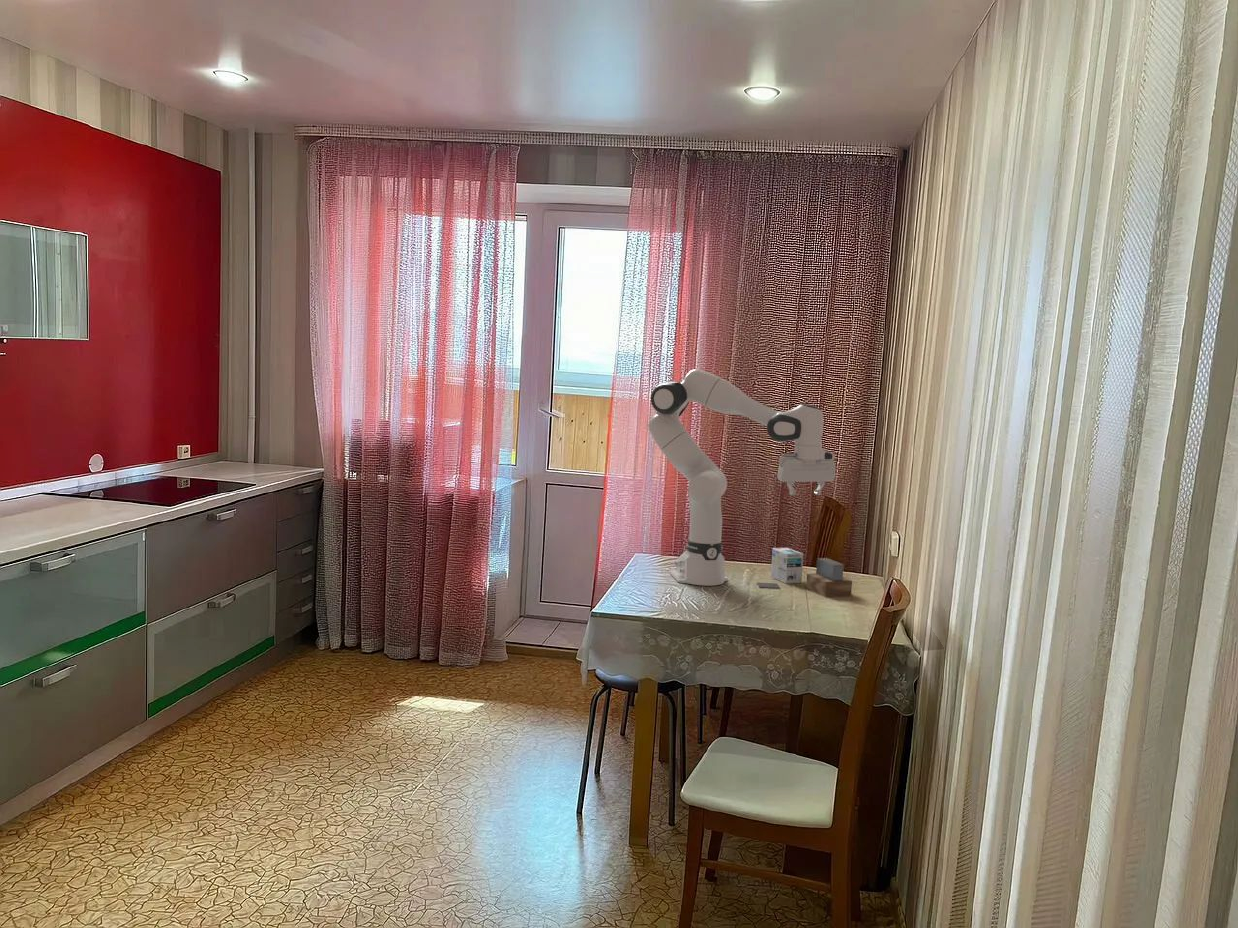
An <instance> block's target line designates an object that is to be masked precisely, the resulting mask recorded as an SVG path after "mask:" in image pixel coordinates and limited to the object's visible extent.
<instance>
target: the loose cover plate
mask: <svg viewBox="0 0 1238 928" xmlns="http://www.w3.org/2000/svg"><path fill="white" fill-rule="evenodd" d="M756 583H757V584H756V585H757V587H758V586H759V587H758V589H777V590H778V589H779V590H780V589H781V586H779V585H778V583H775V582H773V583H772V582H756Z"/></svg>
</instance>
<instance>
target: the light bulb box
mask: <svg viewBox="0 0 1238 928" xmlns="http://www.w3.org/2000/svg"><path fill="white" fill-rule="evenodd" d="M771 551H772V553H771V567H770V578H772V579H774V580H777V581H779V582H781V583H784V584H801V583H802V582H803V581H802V579H803V563H804V553H803V552H800V551H797V550H794V549H792V548H790V547H772V550H771Z"/></svg>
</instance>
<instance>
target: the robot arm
mask: <svg viewBox="0 0 1238 928" xmlns="http://www.w3.org/2000/svg"><path fill="white" fill-rule="evenodd" d="M650 402H651V406H652V407H653V409H654V410H655V411H656V413H655V414H654V415H652V417H651V418H650V419H649V421H648V426H647V427H648V430H649V432H650V434H651V436H652V438H653V440H654V442H655V443H656V445H657V446H658V447H659V450H661V452H662V453H663V454H664V456H665V458H667V460H668V462H670V464H671V465H672V466H673V468H674V469H676V471H678V472H679V473H680V474H681V475H682V476H683V477H684V478H685V479H686V480H687V481H688V485H687V486H688V488H687V489H688V504H689V508H688V509H689V534H688V535H689V536H688V539H687V542H686V547H685V551H684V552H683V553H682V554H681V555H680V556H679V557H677V559H676V560H675V562H674V563H675V564H674V565H675V566H674V567H675V568H676V569H675V568H674V569H670V571H669V574H670V575H671V577H673V579H674V580H675V581H677V583H680V584H690V585H695V586H696V585H697V586H705V587H706V586H719V585H722V584H724V583H726V582H728V581H729V580H728V579H729V577H727V576H726V567H725V566H726V563H725V562H726V561H725V556H723V554H722V552H723V542H722V534H723V533H722V532H723V531H722V530H723V515H722V514H723V513H722V496H723V495H724V494H725V492H726V490H727V487H728V480H727V477H726V475H725V474H724V472H723V471H721V469H720V467H718V466H717V465H716V463H715V462H714V461H713V460H712V459H711V458H710V457H709V456H708V455H707V454H706V453H705V452H704V451H703V450H702V449H701V447H700V446H699V445H698V444H697V442H696V441H695V440H694V438H693V437H692V436H691V434H690V433H689V431H687V428H685V427H684V426H683V424H682V422H681V420H680V418H679V417H681V416H682V414H683V413H684V411H685V410H686V408H687V407H688V405H689V403H690V402H695V403H697V404H700V405H702V406H704V407H705V408H707V409H709V410H711V411H715V412H717V413H720V414H723V415H738V416H743V417H747V418H748V419H751V420H753V421H754V422H757V423H759V424H760V425H763V426H765V427H766V431H767V434H768V436H769V437H770V438H771V439H772V440H773V441H775V442H778V443H786V442H789V441H794V451H793V453H792V452H791V453H783V454H782V455H780V457H779V461H778V463H779V465H778V469H777V479H778V481H779V482H782V483H784V482H785V483H786V485H787V488H788V490H789V495H790V496H796V495H797V489H795V488H794V485H795V483H797V482H798V483H800V482H801V483H802V482H805V483H809V482H810V483H811V482H814V483H815V482H817V487H816V488H814V491H813V493H814V495H815V496H821V494H822V490H823V488H824V486H825V482H831V483H833V482H834V481H835V479H836V462H835V461H834V460H835V459H836V455H835V453H833V452H831V451H828V450H825V449H823V443H822V436H823V433H824V413H823V410H822V409H821V408H820V407H818V406H816V405H812V404H807V403H800V404H799V405H798V406H796V407H794V408H791V409H789V410H776V409H773V408H772V407H769V406H767V405H766V404H763V403H761V402H760V401H757V400H755V399H753V398H751V397H750V396H749V395H747V394H746V393H744V392H743V391H742V390H741V389H739V388H738V387H737V386H736V385H734V384H732V383H731V382H730V381H728V380H726V379H724V378H722V377H719V376H718V375H716V374H713V373H711V372H708V371H705V370H701V369H698V368H695V369H694V368H693V369H691V370H689V372H687V373H686V375H685V376H684V378H683V379H682V380H681V381H675V380H673V381H665V382H662V383H660V384H658V385H657V386H656V387H654V389H653V390H652V391H651V395H650Z"/></svg>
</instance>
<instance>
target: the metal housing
mask: <svg viewBox="0 0 1238 928" xmlns="http://www.w3.org/2000/svg"><path fill="white" fill-rule="evenodd" d="M844 565H845V564H844V563H840V562H838V561H835V560H833V559H832V558H831V559H830V558H828V557H822V558H816V570H815V571H816V574H817V575H819V576H821V577H824V578H826V579H828V580H831V581H843V577H844Z"/></svg>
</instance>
